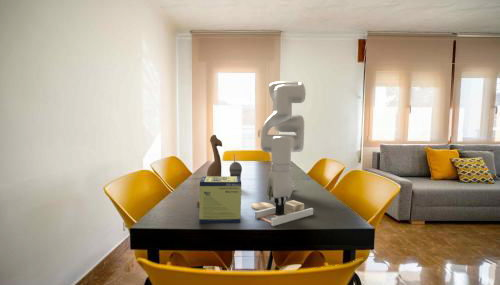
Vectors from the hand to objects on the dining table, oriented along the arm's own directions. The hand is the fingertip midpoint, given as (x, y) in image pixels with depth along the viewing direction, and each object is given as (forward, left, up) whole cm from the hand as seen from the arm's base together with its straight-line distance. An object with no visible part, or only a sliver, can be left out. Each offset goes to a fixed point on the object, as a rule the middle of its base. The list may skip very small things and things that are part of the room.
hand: (279, 213), depth 102 cm
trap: (+4, 0, -2) cm, 4 cm away
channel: (-3, 0, -2) cm, 3 cm away
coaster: (-3, -14, -2) cm, 14 cm away
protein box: (+20, -12, -2) cm, 23 cm away
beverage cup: (-11, -48, -2) cm, 49 cm away
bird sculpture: (+13, -30, -2) cm, 33 cm away
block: (-8, 0, -2) cm, 8 cm away
